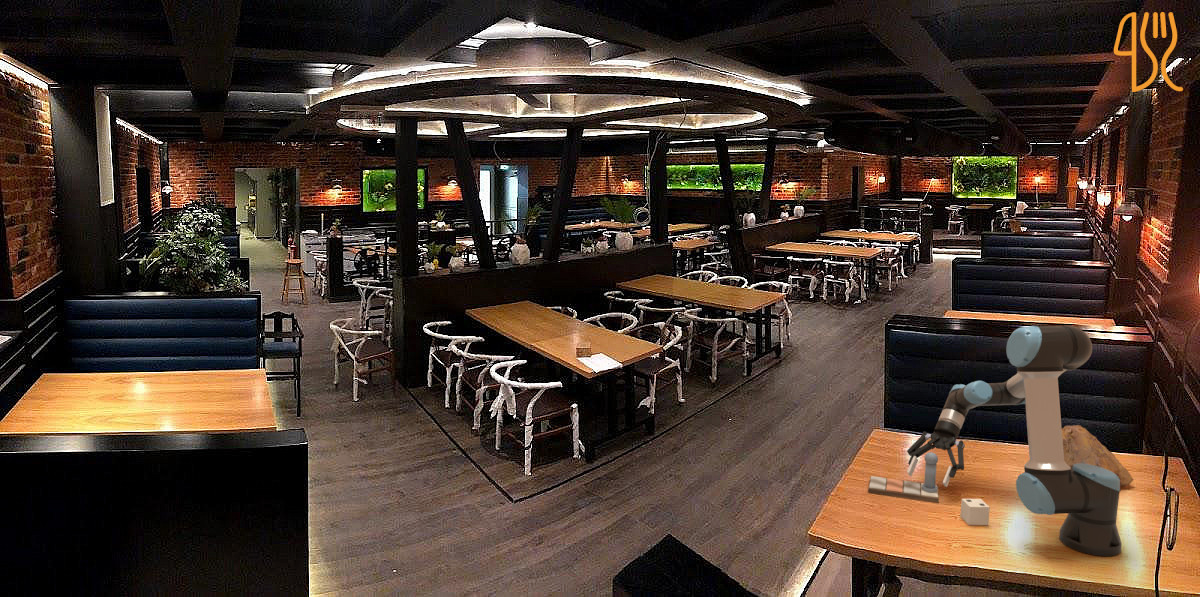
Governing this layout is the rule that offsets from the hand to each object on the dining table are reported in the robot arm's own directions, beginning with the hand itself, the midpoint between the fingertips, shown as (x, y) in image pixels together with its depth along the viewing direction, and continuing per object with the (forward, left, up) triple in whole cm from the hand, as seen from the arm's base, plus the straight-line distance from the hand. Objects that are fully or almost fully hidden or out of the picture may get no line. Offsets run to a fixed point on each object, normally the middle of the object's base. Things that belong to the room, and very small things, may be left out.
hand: (926, 479), depth 246 cm
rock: (+42, -55, -7) cm, 70 cm away
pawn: (+2, -1, -5) cm, 5 cm away
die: (-14, -14, -6) cm, 20 cm away
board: (+2, +7, -6) cm, 10 cm away
